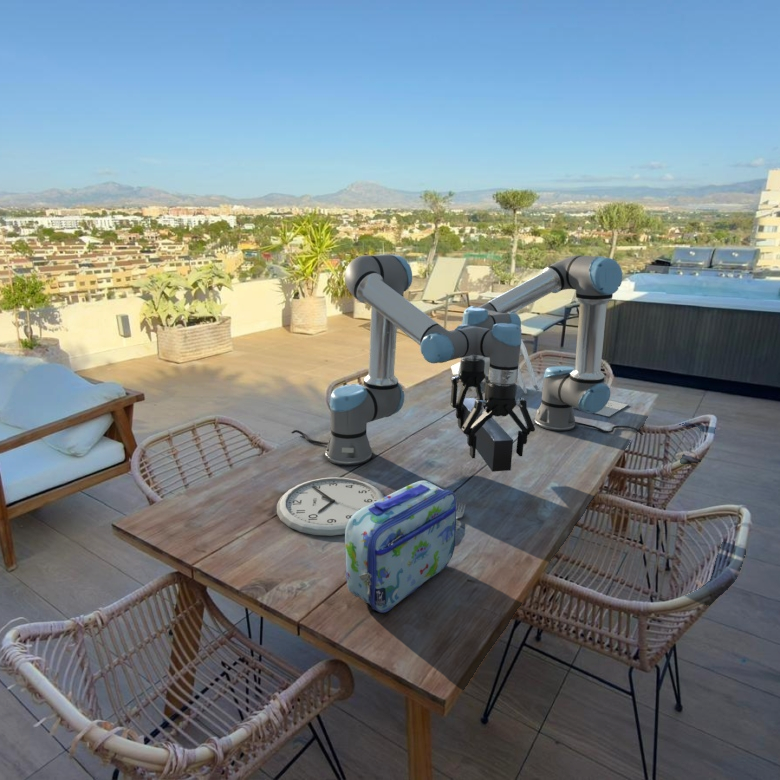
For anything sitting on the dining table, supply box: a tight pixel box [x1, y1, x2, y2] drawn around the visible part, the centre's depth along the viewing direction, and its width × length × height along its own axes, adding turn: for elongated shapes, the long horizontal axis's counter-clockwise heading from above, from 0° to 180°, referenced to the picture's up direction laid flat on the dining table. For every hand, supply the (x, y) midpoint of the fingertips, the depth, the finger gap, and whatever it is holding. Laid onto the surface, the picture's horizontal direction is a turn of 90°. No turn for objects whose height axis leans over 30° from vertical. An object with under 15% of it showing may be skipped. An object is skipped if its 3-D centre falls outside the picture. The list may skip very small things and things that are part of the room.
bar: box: [462, 397, 514, 472], centre depth 158 cm, size 36×5×9 cm, turn 8°
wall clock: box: [276, 476, 386, 537], centre depth 142 cm, size 30×2×30 cm
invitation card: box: [575, 399, 629, 418], centre depth 226 cm, size 21×1×15 cm
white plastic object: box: [450, 339, 540, 394], centre depth 253 cm, size 37×45×31 cm
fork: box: [456, 501, 466, 520], centre depth 134 cm, size 3×16×2 cm, turn 160°
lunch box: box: [344, 480, 457, 614], centre depth 109 cm, size 26×11×21 cm, turn 135°
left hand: (495, 455), depth 145 cm, fingers open, 13 cm apart
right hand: (469, 426), depth 171 cm, fingers closed on bar, 5 cm apart
